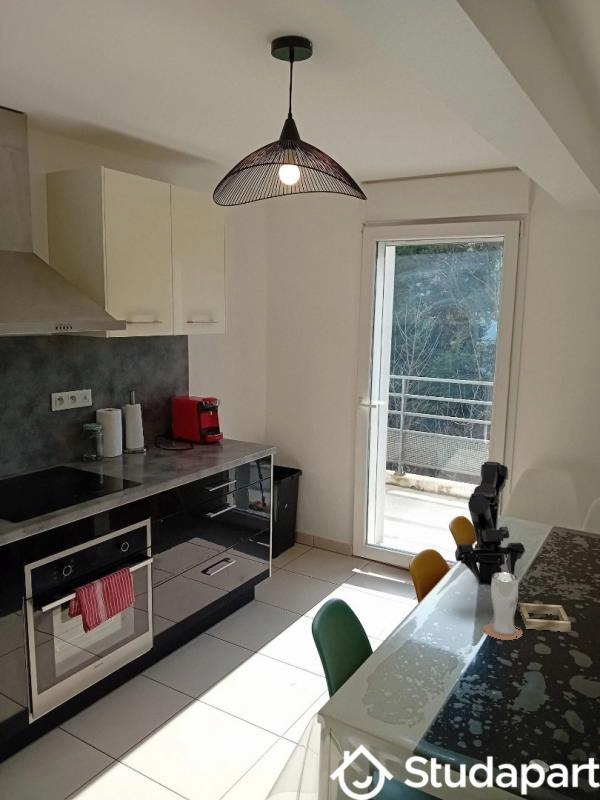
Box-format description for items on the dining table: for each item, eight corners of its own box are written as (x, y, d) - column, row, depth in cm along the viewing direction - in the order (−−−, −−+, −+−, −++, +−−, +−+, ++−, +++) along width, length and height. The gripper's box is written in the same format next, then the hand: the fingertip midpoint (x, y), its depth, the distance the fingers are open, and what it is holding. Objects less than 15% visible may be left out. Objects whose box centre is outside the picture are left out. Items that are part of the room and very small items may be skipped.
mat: (485, 639, 167) (485, 638, 167) (482, 622, 177) (482, 621, 177) (525, 641, 165) (525, 640, 165) (519, 624, 175) (519, 623, 175)
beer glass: (487, 633, 170) (488, 579, 168) (493, 622, 176) (493, 570, 174) (515, 638, 167) (516, 583, 165) (519, 627, 173) (520, 574, 171)
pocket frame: (526, 629, 172) (526, 620, 172) (519, 611, 183) (519, 603, 183) (570, 632, 170) (570, 623, 170) (561, 613, 181) (561, 605, 181)
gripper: (458, 517, 179) (469, 569, 170) (523, 515, 180) (537, 567, 170) (450, 535, 188) (460, 585, 178) (512, 533, 189) (526, 583, 179)
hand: (496, 580), depth 176 cm, fingers open, 9 cm apart
